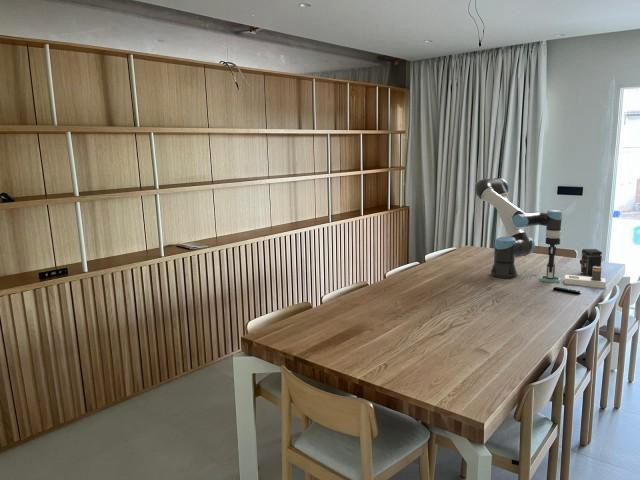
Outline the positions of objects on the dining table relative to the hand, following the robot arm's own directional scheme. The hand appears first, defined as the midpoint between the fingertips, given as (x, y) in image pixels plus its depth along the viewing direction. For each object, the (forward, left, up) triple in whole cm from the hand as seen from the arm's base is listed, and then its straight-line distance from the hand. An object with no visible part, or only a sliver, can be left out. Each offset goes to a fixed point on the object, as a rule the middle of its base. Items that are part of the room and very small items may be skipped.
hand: (550, 276), depth 273 cm
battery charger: (+18, 0, -3) cm, 18 cm away
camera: (+20, +26, -3) cm, 33 cm away
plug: (0, 0, -2) cm, 2 cm away
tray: (0, 0, -3) cm, 3 cm away
